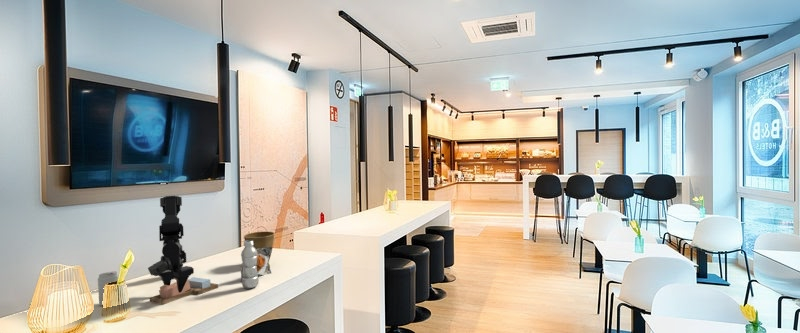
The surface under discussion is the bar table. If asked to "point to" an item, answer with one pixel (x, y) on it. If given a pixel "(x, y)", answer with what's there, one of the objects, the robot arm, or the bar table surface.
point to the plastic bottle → (249, 265)
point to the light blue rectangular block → (199, 282)
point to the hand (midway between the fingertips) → (173, 290)
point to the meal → (261, 262)
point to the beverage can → (105, 282)
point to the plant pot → (261, 240)
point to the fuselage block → (172, 290)
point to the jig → (182, 294)
